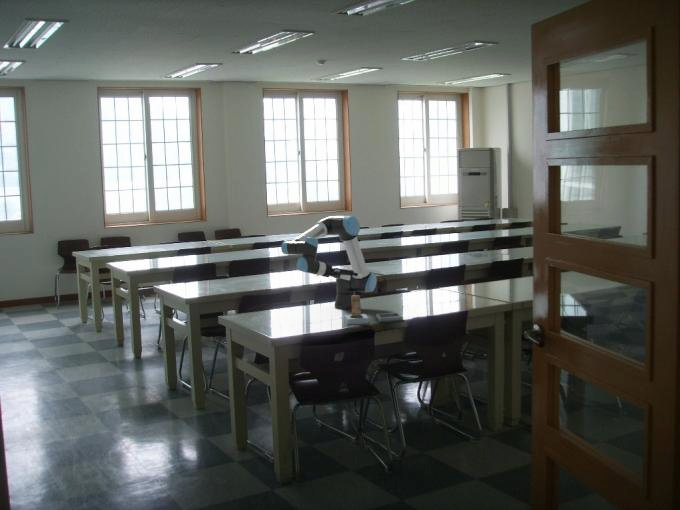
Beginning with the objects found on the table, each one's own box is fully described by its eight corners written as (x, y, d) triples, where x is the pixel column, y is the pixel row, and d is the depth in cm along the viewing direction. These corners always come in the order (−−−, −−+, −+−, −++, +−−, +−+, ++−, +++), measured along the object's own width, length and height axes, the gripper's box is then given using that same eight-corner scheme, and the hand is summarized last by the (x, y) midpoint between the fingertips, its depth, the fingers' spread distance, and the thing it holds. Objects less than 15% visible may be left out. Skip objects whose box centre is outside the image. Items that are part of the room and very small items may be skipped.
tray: (376, 318, 437) (376, 314, 437) (398, 316, 438) (398, 312, 438) (380, 322, 424) (379, 318, 424) (402, 321, 426) (402, 316, 425)
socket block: (345, 320, 435) (344, 315, 434) (365, 319, 436) (365, 314, 436) (347, 324, 423) (347, 319, 422) (368, 323, 424) (368, 317, 424)
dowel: (351, 321, 432) (350, 295, 430) (360, 320, 432) (359, 295, 430) (352, 322, 427) (351, 296, 425) (361, 322, 427) (360, 296, 425)
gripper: (312, 277, 430) (344, 285, 440) (332, 274, 409) (365, 281, 418) (314, 265, 432) (346, 272, 441) (334, 260, 410) (367, 268, 420)
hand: (355, 277), depth 430 cm, fingers open, 13 cm apart
